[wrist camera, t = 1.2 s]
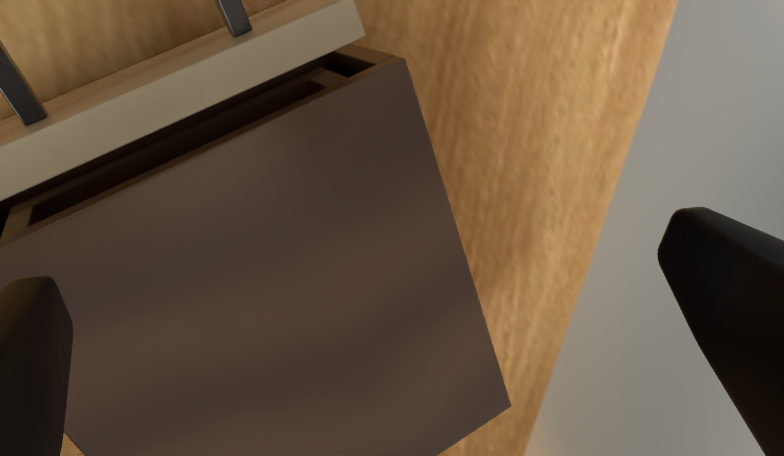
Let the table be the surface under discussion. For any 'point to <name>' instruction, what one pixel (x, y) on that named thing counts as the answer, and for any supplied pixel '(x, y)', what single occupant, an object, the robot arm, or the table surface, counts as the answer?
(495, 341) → the table surface
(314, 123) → the cabinet
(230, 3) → the drawer
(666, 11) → the table surface
